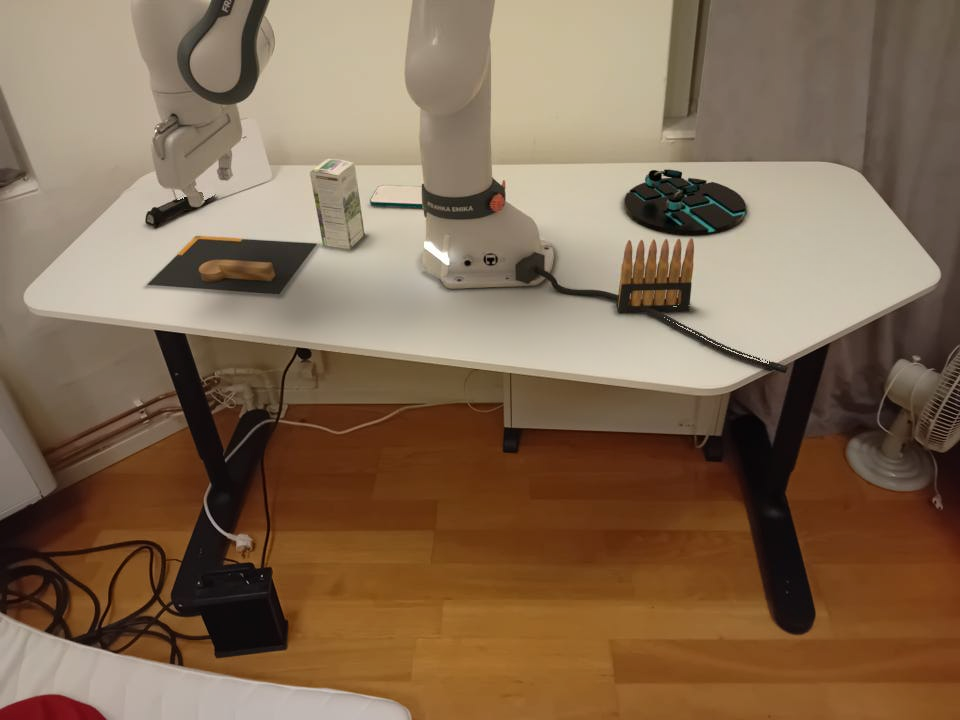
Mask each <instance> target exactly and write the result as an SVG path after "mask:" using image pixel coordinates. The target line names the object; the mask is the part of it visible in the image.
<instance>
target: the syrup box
mask: <svg viewBox="0 0 960 720" xmlns="http://www.w3.org/2000/svg"><path fill="white" fill-rule="evenodd" d="M355 164H356V163H354V162H352V161H348V160H345V159H337V158H326V159H324V160H323V161H322V162H321V163H320V164H318V165H316V167H314V168H313V169H312V170H310V172H309V176H310V182H311V187H312V193H313V199H314V204H315V209H316V215H317V219H318V220H317V221H318V226H319V231H320V236H321V241H322V245H323V246H325V247H326V246H327V247H334V248H341V249H349V250H350V249H352V248H353V247H354V246H355V245H356V244H357V243H358V242H359V241H361V239H362V238H364V236H365V227H364V220H363V212H362V206H361V197H360V192H359V185H358V177H357V171H356V165H355Z"/></svg>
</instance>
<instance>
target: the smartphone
mask: <svg viewBox="0 0 960 720" xmlns="http://www.w3.org/2000/svg"><path fill="white" fill-rule="evenodd" d="M421 193H422V185H421V186H420V185H397V184H395V185H393V184H381V185H378V186H377V188H376V189H375V191H374V192H373V194H372V196H371V198H370V199H369V204H370V205H371V206H375V207H396V208H419V209H421V208H422V209H423V207H422V196H421Z"/></svg>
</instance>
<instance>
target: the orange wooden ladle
mask: <svg viewBox="0 0 960 720" xmlns="http://www.w3.org/2000/svg"><path fill="white" fill-rule="evenodd" d="M199 272H200V276H201V278H202V280H204V281H207V282H215V281H220V280H222V279H224V278H231V279H246V280H260V281H272V279H273V278H274V277H275V273H274V269H273V265H272V263H268V262H252V261H237V260H211V261H208V262H206V263H204V264H202V265H201V266H200V267H199Z"/></svg>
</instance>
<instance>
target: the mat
mask: <svg viewBox="0 0 960 720" xmlns="http://www.w3.org/2000/svg"><path fill="white" fill-rule="evenodd" d="M317 245H318V243H315V242H299V241H298V242H297V241H296V242H295V241H281V240H263V239H247V238H238V237H221V236H206V235H205V236H203V235H195V236H194V237H193V238H192V239H191V241H189V242H188V243H187V244H186V245H185V246H184V247H183V248H182V249H181V250H179V252H178V253H177V254H176V256H174V258H173V259H172V260H170V262H168V263H167V264H166V265H165V266H164V267H163V268H162V269H161V270H160V271H159V272H158V273H157V274H156V275H155V276H154V277H153V278H152V279H151V280H150V281H149V282H148V283H147V286H157V287H158V286H159V287H170V288H183V289H185V288H186V289H196V290H197V289H199V290H210V291H224V292H225V291H226V292H237V293H238V292H239V293H253V294H264V295H277V296H278V295H280V294H281V293H282V291H283V290H284V289H285V288H286V286H287V284H289V282H290V281H291V280H292V278H293V277H294V276H295V274H296V273H297V272H298V270H299V269H300V268H301V267H302V265H303V263H305V261H306V260H307V258H308V257H309V256H310V254H311V253H312V252H313V250H314V249H315V247H316V246H317ZM211 260H237V261H252V262H268V263H272V265H273V269H274V273H275V277H274V278H273V279H272V281H260V280H246V279H231V278H224V279H222V280H220V281H215V282H207V281H204V280H202V278H201V276H200V272H199V267H200V266H201V265H202V264H204V263H206V262H208V261H211Z"/></svg>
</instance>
